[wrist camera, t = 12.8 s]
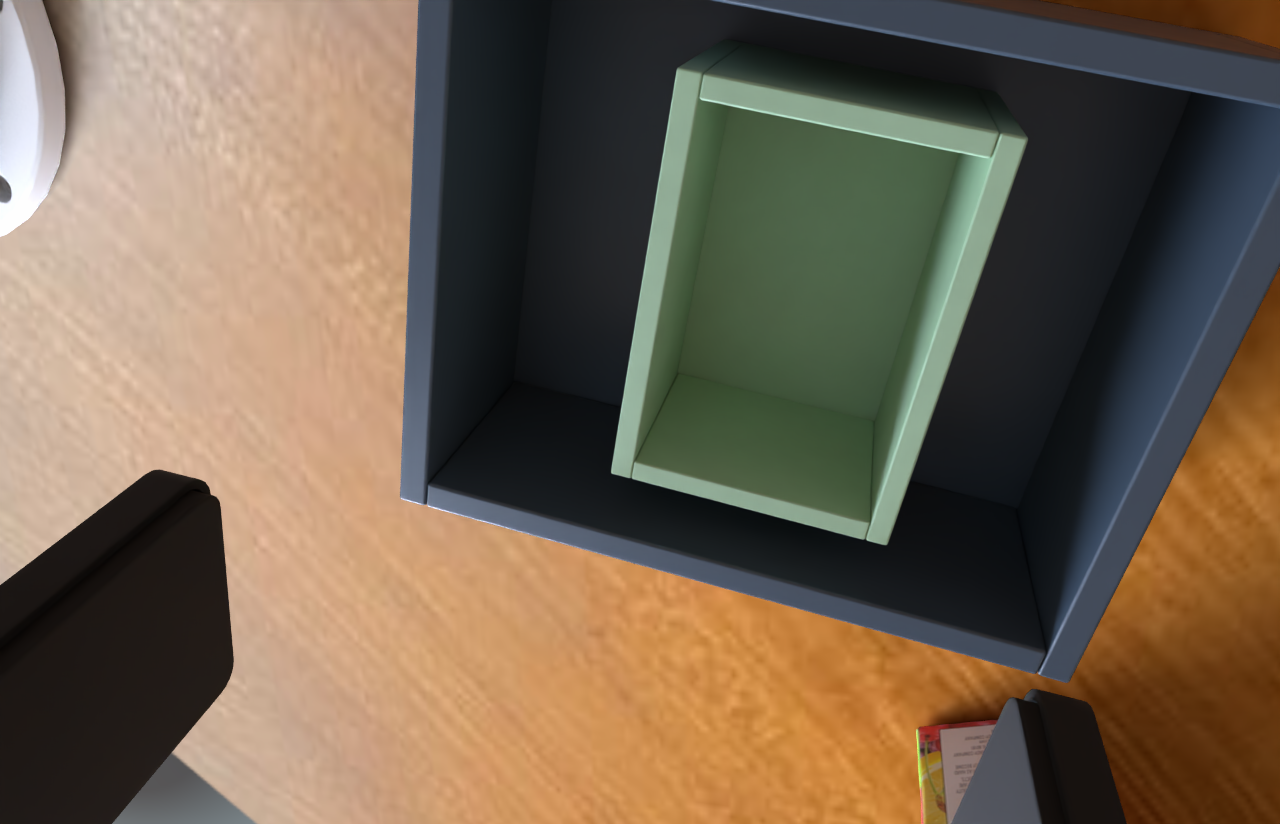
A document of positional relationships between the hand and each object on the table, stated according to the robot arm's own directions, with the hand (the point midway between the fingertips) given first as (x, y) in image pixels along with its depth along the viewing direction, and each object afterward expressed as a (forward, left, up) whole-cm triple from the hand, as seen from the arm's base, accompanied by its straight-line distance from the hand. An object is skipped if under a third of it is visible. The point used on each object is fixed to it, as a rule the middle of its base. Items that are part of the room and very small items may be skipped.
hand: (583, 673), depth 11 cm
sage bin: (+1, +1, -16) cm, 16 cm away
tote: (0, +1, -16) cm, 16 cm away
